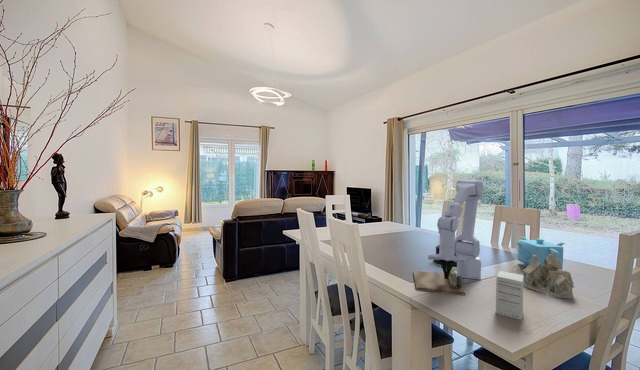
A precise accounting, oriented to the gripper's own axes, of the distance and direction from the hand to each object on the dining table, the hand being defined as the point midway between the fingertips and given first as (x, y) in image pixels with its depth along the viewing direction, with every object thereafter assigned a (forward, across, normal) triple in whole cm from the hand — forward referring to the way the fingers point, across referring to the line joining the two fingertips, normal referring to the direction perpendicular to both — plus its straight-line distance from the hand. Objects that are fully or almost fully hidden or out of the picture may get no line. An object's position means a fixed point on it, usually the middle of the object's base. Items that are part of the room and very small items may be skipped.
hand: (446, 278), depth 118 cm
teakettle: (+4, +46, +43) cm, 63 cm away
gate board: (+3, -3, +2) cm, 5 cm away
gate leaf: (+2, +2, +3) cm, 5 cm away
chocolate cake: (+4, +4, +35) cm, 36 cm away
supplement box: (+4, +18, -17) cm, 25 cm away
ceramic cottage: (+4, +38, +11) cm, 40 cm away
